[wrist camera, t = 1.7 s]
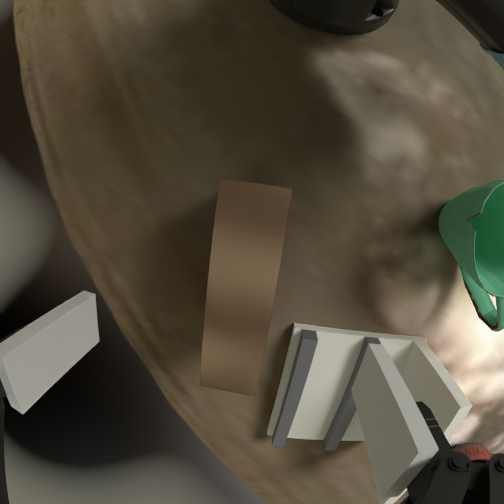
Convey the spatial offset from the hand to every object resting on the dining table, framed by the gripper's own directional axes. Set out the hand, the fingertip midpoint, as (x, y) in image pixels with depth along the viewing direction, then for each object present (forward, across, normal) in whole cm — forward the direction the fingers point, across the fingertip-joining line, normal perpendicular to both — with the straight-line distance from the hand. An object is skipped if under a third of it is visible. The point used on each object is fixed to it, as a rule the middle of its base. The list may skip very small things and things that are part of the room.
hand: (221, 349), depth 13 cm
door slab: (+17, 0, 0) cm, 17 cm away
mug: (+17, +22, +5) cm, 28 cm away
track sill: (+17, +13, -15) cm, 26 cm away
